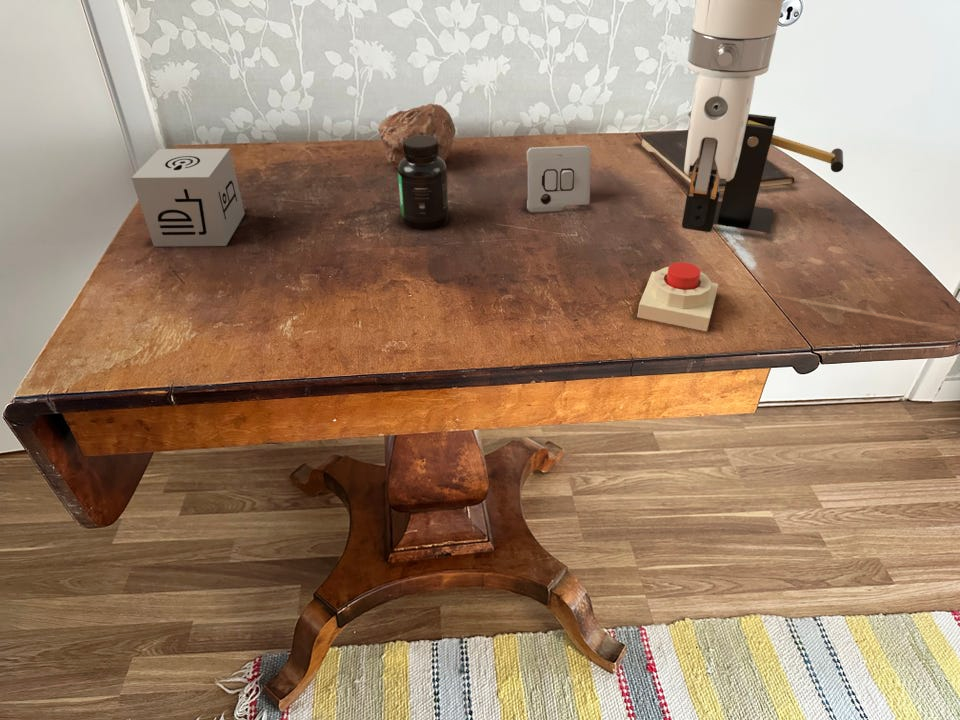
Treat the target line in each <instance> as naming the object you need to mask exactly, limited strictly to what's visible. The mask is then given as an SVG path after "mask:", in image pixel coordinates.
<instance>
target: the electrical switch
mask: <svg viewBox="0 0 960 720" xmlns="http://www.w3.org/2000/svg"><path fill="white" fill-rule="evenodd" d="M591 157H592V151H591V148H590V147H589V146H588V145H564V146H562V145H561V146H558V145H557V146H537V147H536V146H535V147H529V148H528V149H527V150H526V162H527V199H526V209H527V211H528V212H529V213H548V212H549V213H550V212H562V211H563V210H564V209H565V207H566V206H584V205H586V206H587V205H590V199H591V197H590V196H591V159H592V158H591ZM545 196H547V198H546V200H545V201H544V200H543V197H545Z"/></svg>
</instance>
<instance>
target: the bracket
mask: <svg viewBox="0 0 960 720" xmlns="http://www.w3.org/2000/svg"><path fill="white" fill-rule="evenodd" d="M749 120H750V121H753V122H757V123H760V124H763V125H756V124H746V129H745V134H744V138H743V143H742V148H741V152H740V157H739V161H738V165H737V168H736V172H735V175H734V178H733V179H732V180H730V181H726V185H725V189H724V191H723V195H722V199H721V201H720V200H718V204H717V209H716V214H715V219H714V224H713V225H718V226H723V227H730V228H736V229H741V230H749V231H753V232H754V231H755V232H761V233H766V234H770V233H771V230H772V221H773V217H774V209H773V208H768V207H761V206H756V203H757V199H758V195H759V190H760V188H761V187H760V183H761V179H762V175H763V171H764V167H765V163H766V159H767V160H768V155H769V151H770V148H771V145H770V144H771V140H772V136H773V135H774V132H775V125H776V121H777V116H771V115H762V114H753V113H749V115H748V119H747V123H748V121H749ZM764 125H766V126H764Z"/></svg>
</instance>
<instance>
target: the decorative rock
mask: <svg viewBox="0 0 960 720" xmlns="http://www.w3.org/2000/svg"><path fill="white" fill-rule="evenodd" d="M377 130H378V134H379V138H380V139H381V141H382V143H383V147H384V155H385V159H386V160H387V162H388V163H389V164H390V165H391V166H392V167H394V168H396V170H398V165H399V163H400V161H401V160H402V159H403V158H405V157H404V155H403V141H404V140H405V139H406V138H408V137H411V136H417V135H427V136H432V137H435V138H437V140H438V146H439V155H438V156H439V157H440V158H442V159H443V160H444V162H446V160H447V157H448V156H449V155H450V152H451V151H452V147H453V146H452V145H453V141H454V138H455V136H456V131H457V130H456V125H455V123H454V122H453V119H452V116H451V114H450V113H449V112H448V110H447V109H446V108H445V107H443V105H440V104H438V103H437V104H434V103H428V104H427V105H420V106H418V107H412V108H410V109H407V110H399V111H397V112H395V113H393V114H389V115H388V116H387V117H385V118H384V119H382V120H381V122H380V124H379V126H378V128H377Z"/></svg>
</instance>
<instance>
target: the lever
mask: <svg viewBox="0 0 960 720" xmlns="http://www.w3.org/2000/svg"><path fill="white" fill-rule="evenodd" d="M747 124H756V125H763V124H760V123H757V122H753V121H750V120H749V121H748V123H747ZM764 126H766V125H764ZM770 146H773V147H777V148H780V149H783V150H787V151H790V152H793V153H796V154H799V155H803V156H805V157H809V158H811V159H814V160H818V161H821V162H823V163H824V162H825V163H827V164H830V170H831V171H832V172H833V173H839V172H842V170H843V168H844V152H843V149H842V148H840V147H839V148H838V147H837V148H834V149H832V150H831V152H830V151H827V150H823V149H820V148H817V147H815V146H814V147H813V146H811V145H807V144H804V143H800V142H797V141H795V140H791V139H788V138H785V137H781V136H778V135H775V134H773V136H772V140H771V144H770Z"/></svg>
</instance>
